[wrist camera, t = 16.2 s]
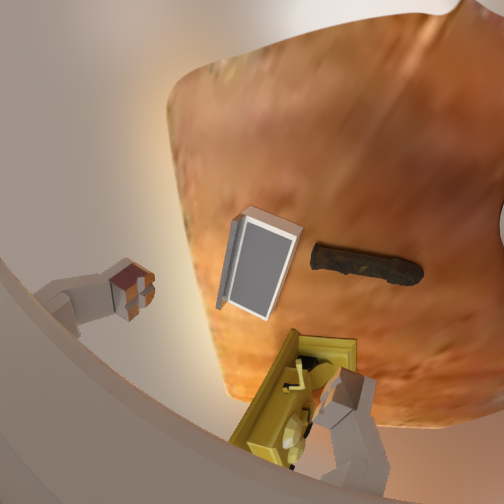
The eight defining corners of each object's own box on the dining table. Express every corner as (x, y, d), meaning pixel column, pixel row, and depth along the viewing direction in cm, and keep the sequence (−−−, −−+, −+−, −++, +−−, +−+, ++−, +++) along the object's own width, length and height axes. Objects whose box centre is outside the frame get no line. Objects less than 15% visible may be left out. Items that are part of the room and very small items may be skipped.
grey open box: (303, 227, 49) (291, 244, 44) (274, 309, 60) (261, 330, 55) (250, 205, 52) (232, 219, 46) (231, 289, 63) (215, 308, 57)
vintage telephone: (354, 405, 65) (318, 510, 41) (303, 399, 71) (258, 494, 47) (356, 312, 52) (309, 457, 28) (287, 308, 59) (213, 431, 35)
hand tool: (314, 259, 51) (306, 274, 47) (315, 239, 49) (308, 254, 45) (418, 280, 44) (419, 298, 40) (424, 261, 42) (426, 278, 38)
